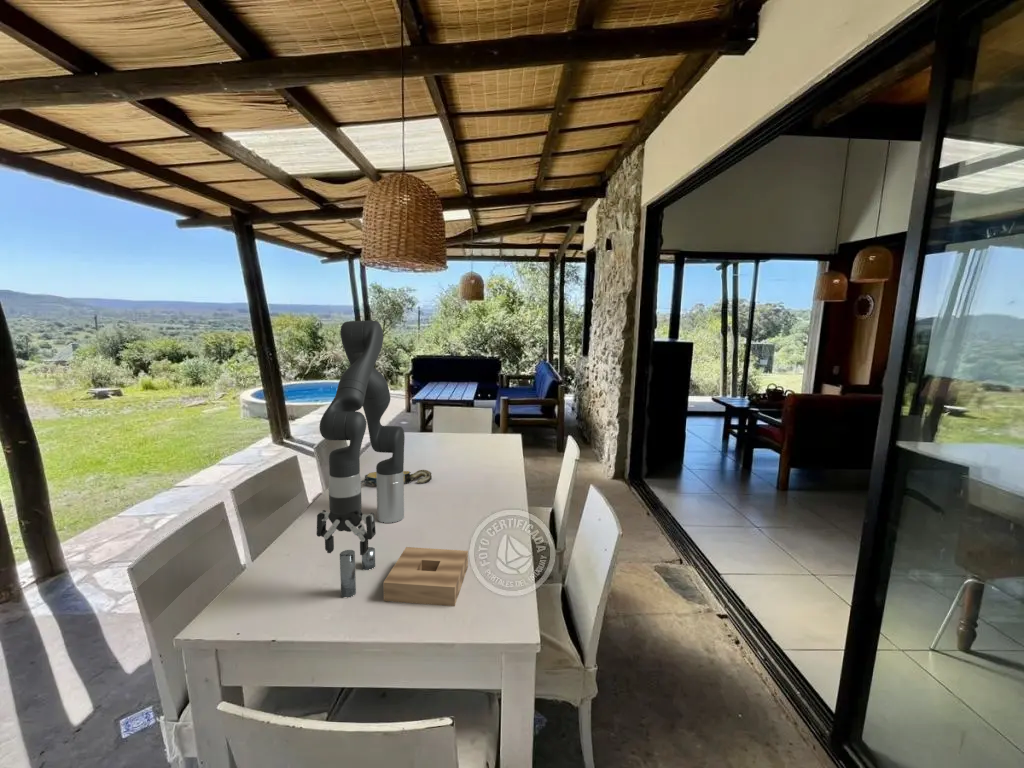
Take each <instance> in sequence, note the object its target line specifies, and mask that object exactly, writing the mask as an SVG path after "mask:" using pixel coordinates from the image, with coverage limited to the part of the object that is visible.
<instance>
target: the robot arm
mask: <svg viewBox="0 0 1024 768" xmlns="http://www.w3.org/2000/svg"><path fill="white" fill-rule="evenodd" d="M340 339H341V340H340V341H341V345H342V347H343V349H344V353H345V355H346V357H347V359H348V360H347V361H348V362H349V365H350V366H349V367H348V368H347V369H346V370H345V371H344V372H343V373H342V375H341V377H340V379H339V381H338V385H337V389H336V393H335V396H334V398H333V399H332V401H331V402H330V404H329V406H328V407H327V409H326V410H325V411H324V413H323V415H322V417H321V418H320V422H319V432H320V435H321V437H322V438H323V439H324V440H326V441H349V445H347V446H346V447H340V448H336V449H334V450H332V451H330V453H329V456H328V465H329V471H328V473H329V479H328V503H329V504H328V506H329V507H328V509H329V512H328V511H327V510H325V509H324V510H322V511H320V512H318V514H317V515H316V536H317V537H322V538H323V539H324V549H325V551H326V553H327V554H332V552H333V551H334V550H335V539H334V535H333V534H335V531H336V530H337V531H338V532H347V533H348V532H349V533H353V534H354V536H357V537H358V539H359V540H360V541H359V551H360V552H359V555H360V556H362V555H364V554H365V553H366V552H367V550H368V547H369V540H372V539H373V538H374V537H375V536H376V534H377V531H376V517H377V521H378V522H380V523H383V522H384V524H392V522H393V523H397V521H398V522H400V521H402V520H403V519H404V518H405V497H404V496H405V483H404V472H403V471H405V470H404V468H405V467H404V465H405V463H404V462H405V440H406V439H405V431H404V428H403V427H402V426H398V425H383V424H381V419H382V417H383V415H384V413H386V411H387V410H388V407H389V405H390V402H391V392H390V388H389V385H388V381H387V380H386V378H385V377H384V375H382V373H381V372H380V371H378V369H376V368H375V366H376V363H377V361H378V358H379V356H380V354H381V351H382V347H383V343H384V331H383V327H382V325H381V323H380V322H378V321H376V320H348V321H345V322H343V323H342V324H341V327H340ZM362 408H363V412H364V414H363V413H362V412H361V411H359V410H361V409H362ZM366 429H367V430H368V436H369V441H370V446H371V448H372V450H373V451H374V452H376V453H385V454H386V453H388V454H389V453H391V457H389V458H387V459H384V460H381V461H379V462H378V463H377V464H376V466H375V467H376V468H375V472H376V479H377V484H376V506H377V507H376V510H377V511H376V513H377V515H376V517H375V513H373V512H369V514H364V513H363V511H362V505H363V504H362V482H361V481H362V478H361V468H360V467H361V466H360V457H361V456H360V455H361V449H362V443H363V440H364V436H365V433H366ZM328 519H329V521H330V522H331V524H332V525H330V527H329V528H328V530H327V520H328ZM362 520H363V523H364V524H365V525H366V526H364V524H363V523H362Z"/></svg>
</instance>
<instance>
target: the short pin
mask: <svg viewBox="0 0 1024 768" xmlns="http://www.w3.org/2000/svg"><path fill="white" fill-rule="evenodd" d="M374 567H375V568H376V549H375V547H373V546H368V550H367V552H366V553H365V554H364V555H361V568H362V570H363V569H364V571H370V570H369V569H371V570H373V569H375V568H374ZM372 568H373V569H372Z"/></svg>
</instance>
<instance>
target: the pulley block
mask: <svg viewBox="0 0 1024 768" xmlns="http://www.w3.org/2000/svg"><path fill="white" fill-rule="evenodd" d="M403 472H404V484H410V483H411V482H410V481H414V480H416V483H417V484H424V483H425V482H426V483H429V482H430V481H432V480H433V477H432V472H431V471H429V470H427V469H418V470H417V471H415V472H413V473H411V471H409V470H408V471H407V470H403ZM417 479H418V480H417ZM409 482H410V483H409ZM361 483H364V484H365V485H368V484H370V485H371V486H373V487H375V485H376V486H377V479H376V471H373V472H369V473H367V474H365V475H364V480H361ZM426 483H425V484H426Z"/></svg>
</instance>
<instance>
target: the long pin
mask: <svg viewBox="0 0 1024 768" xmlns="http://www.w3.org/2000/svg"><path fill="white" fill-rule="evenodd" d="M339 573H340V579H339V580H340V596H341V598H343V597H350V598H352V597H354V596H356V594H357V584H356V581H357V580H356V579H357V578H356V576H357V575H356V552H355V550H353V549H345V550H342V551H340V553H339ZM353 595H354V596H353ZM351 596H352V597H351Z"/></svg>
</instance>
